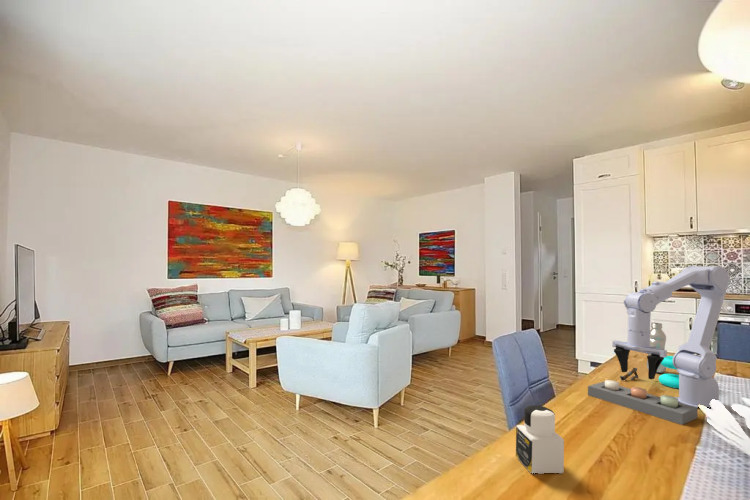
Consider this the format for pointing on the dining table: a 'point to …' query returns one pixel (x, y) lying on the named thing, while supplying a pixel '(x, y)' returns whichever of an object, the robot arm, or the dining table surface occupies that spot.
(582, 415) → the dining table surface
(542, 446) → the medicine bottle
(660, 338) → the plastic bottle
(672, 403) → the button sage
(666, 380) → the donuts
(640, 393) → the button terracotta
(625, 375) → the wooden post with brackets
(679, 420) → the button panel
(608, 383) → the button cream
